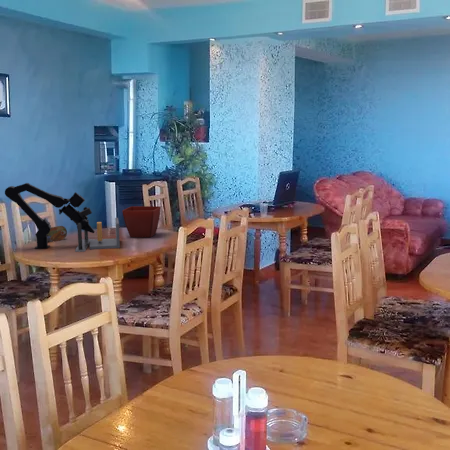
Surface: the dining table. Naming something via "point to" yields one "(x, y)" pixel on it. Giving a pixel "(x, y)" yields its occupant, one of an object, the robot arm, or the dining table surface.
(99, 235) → the lever
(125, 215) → the plant pot
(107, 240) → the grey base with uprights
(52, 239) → the tin
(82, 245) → the stand
